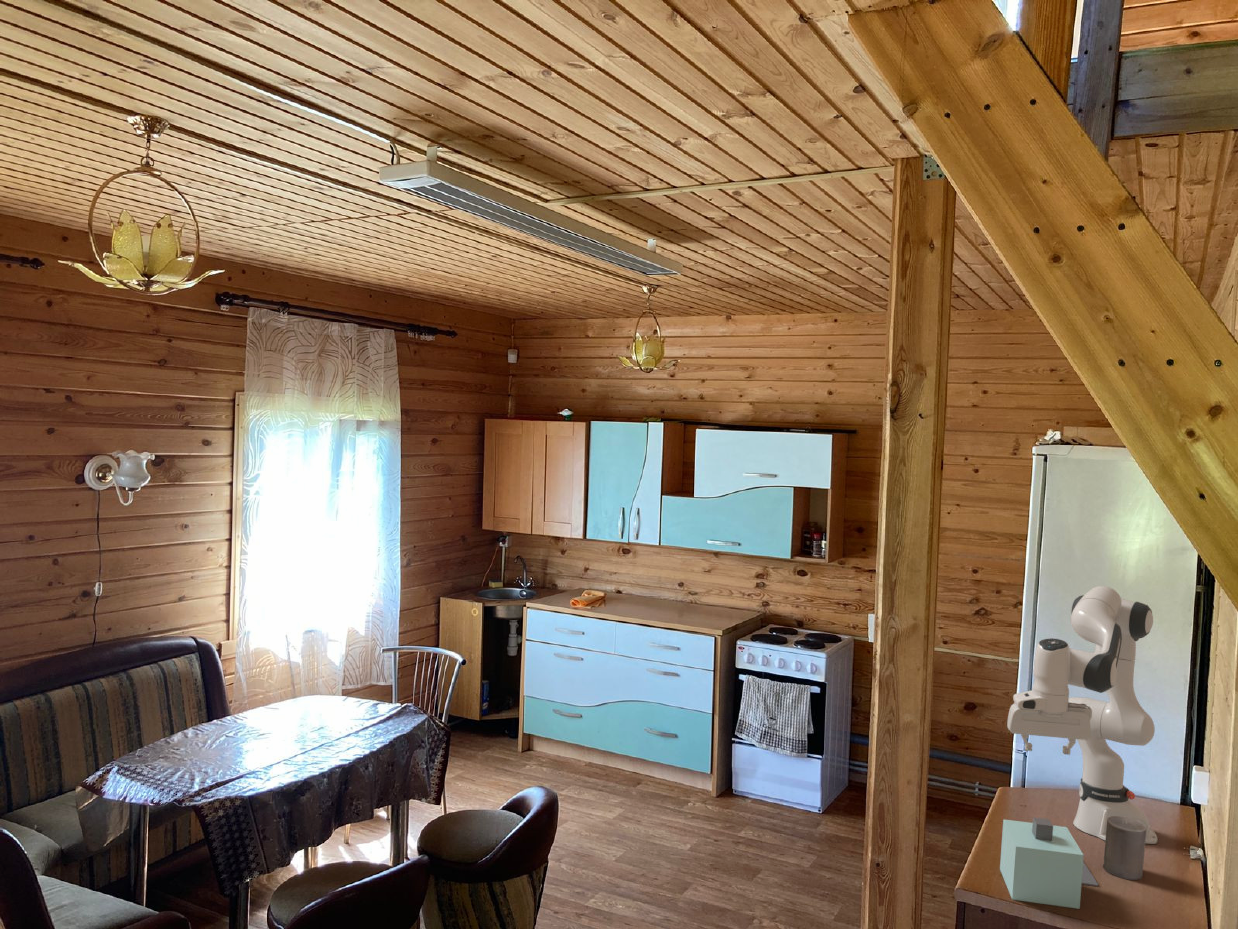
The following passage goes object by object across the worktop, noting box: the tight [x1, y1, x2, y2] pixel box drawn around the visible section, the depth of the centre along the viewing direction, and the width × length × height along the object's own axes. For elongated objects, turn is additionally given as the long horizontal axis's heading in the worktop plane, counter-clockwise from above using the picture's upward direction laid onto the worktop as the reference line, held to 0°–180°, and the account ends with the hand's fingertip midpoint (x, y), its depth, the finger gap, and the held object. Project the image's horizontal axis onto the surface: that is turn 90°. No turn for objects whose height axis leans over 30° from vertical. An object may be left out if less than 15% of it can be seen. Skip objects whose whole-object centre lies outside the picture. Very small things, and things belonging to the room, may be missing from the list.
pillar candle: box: [1102, 816, 1146, 881], centre depth 255 cm, size 10×10×15 cm
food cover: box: [999, 817, 1084, 910], centre depth 243 cm, size 16×16×18 cm
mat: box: [1081, 860, 1100, 887], centre depth 258 cm, size 19×19×1 cm
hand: (1047, 752), depth 247 cm, fingers open, 8 cm apart
